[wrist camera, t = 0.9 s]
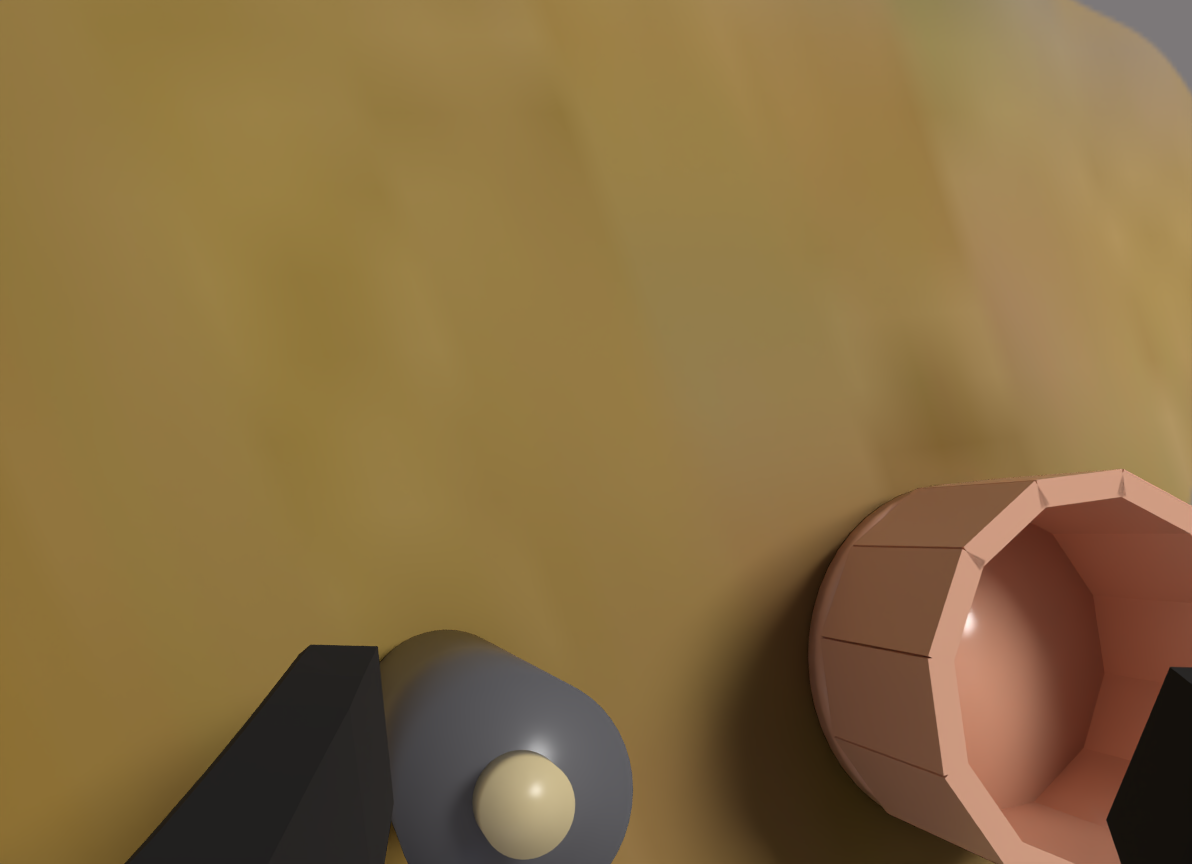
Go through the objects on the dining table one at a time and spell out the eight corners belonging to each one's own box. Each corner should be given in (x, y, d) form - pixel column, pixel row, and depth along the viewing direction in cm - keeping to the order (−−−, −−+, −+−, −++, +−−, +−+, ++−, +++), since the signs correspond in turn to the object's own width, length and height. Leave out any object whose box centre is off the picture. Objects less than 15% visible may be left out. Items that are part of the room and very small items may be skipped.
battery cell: (484, 820, 22) (591, 972, 14) (330, 764, 21) (358, 895, 13) (547, 664, 23) (680, 731, 15) (401, 604, 22) (464, 643, 14)
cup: (1042, 875, 26) (1212, 951, 21) (759, 760, 24) (877, 816, 19) (1130, 561, 28) (1305, 567, 23) (874, 429, 26) (1007, 406, 21)
